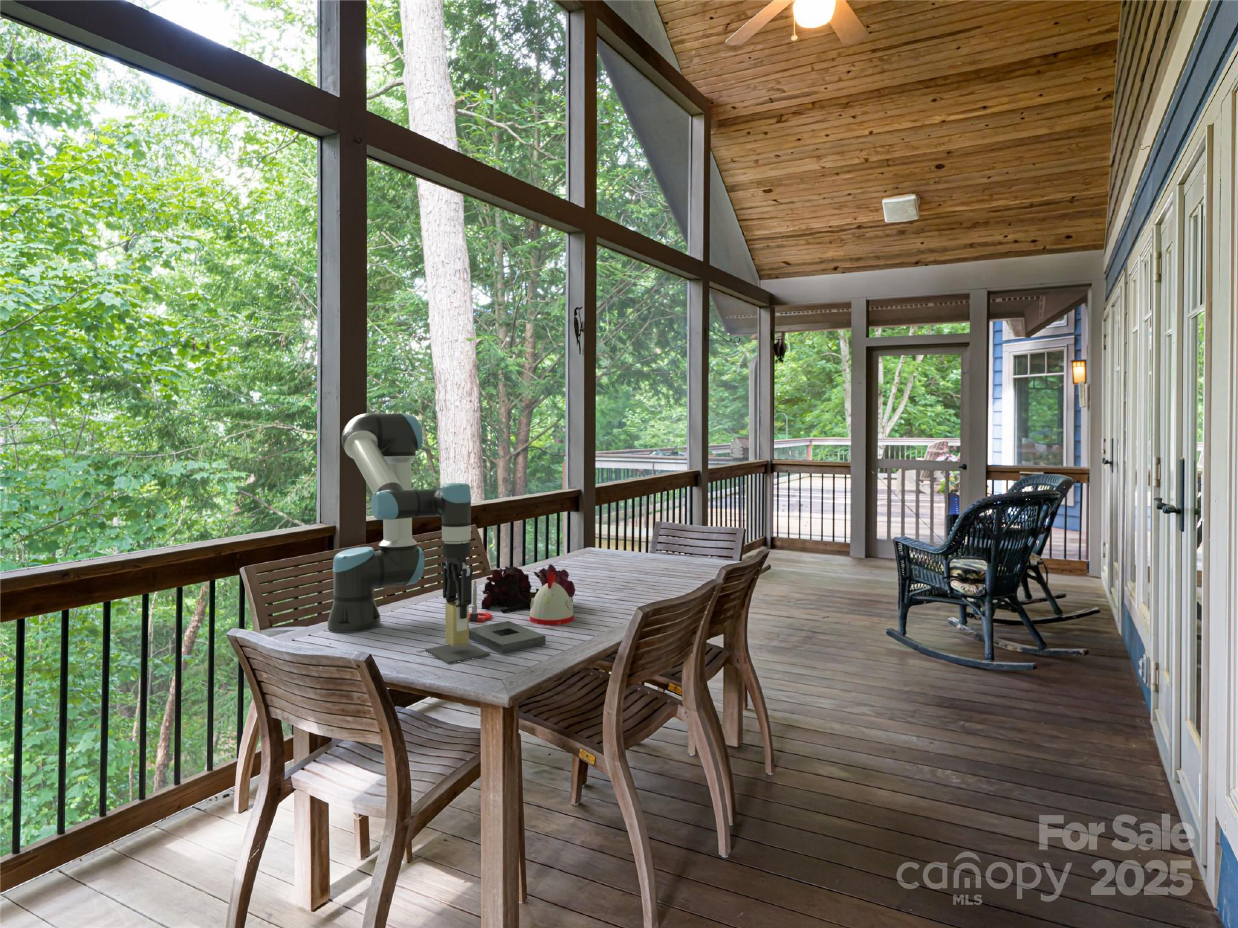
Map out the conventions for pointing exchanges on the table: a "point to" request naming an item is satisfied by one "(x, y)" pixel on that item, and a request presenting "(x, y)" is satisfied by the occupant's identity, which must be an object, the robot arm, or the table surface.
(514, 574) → the flower arrangement
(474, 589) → the tow hook
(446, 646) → the rubber mat
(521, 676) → the table surface
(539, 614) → the kitchen timer
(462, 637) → the brass plug
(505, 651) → the socket plate
